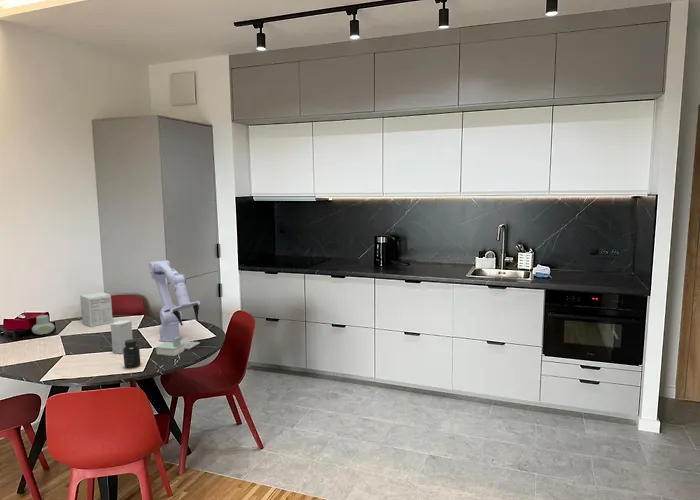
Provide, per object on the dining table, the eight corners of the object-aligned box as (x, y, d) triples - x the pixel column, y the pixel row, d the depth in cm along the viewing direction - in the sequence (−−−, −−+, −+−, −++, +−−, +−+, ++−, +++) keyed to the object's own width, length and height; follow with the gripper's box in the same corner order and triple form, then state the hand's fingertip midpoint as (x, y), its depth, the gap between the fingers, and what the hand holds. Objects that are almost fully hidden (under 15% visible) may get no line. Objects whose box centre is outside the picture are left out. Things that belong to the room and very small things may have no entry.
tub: (156, 354, 238) (156, 348, 237) (166, 349, 245) (166, 343, 245) (174, 356, 235) (174, 350, 235) (184, 350, 243) (183, 345, 242)
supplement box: (113, 322, 297) (111, 294, 295) (90, 327, 287) (88, 298, 285) (104, 319, 305) (102, 291, 303) (81, 323, 296) (79, 295, 293)
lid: (155, 350, 237) (155, 339, 237) (166, 345, 245) (165, 334, 245) (174, 351, 235) (173, 340, 234) (184, 346, 243) (183, 335, 242)
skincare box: (121, 354, 239) (119, 324, 237) (111, 353, 241) (109, 323, 239) (134, 348, 247) (132, 320, 245) (124, 347, 249) (122, 319, 247)
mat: (168, 347, 248) (168, 346, 248) (180, 341, 258) (180, 340, 258) (189, 349, 245) (189, 348, 245) (200, 342, 255) (200, 342, 255)
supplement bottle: (127, 363, 226) (125, 338, 224) (142, 363, 226) (141, 338, 225) (121, 369, 219) (120, 343, 217) (137, 368, 219) (135, 342, 218)
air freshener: (33, 337, 269) (31, 319, 268) (31, 333, 276) (29, 316, 274) (56, 333, 276) (54, 316, 275) (53, 330, 282) (52, 313, 281)
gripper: (166, 299, 240) (173, 325, 236) (196, 290, 244) (203, 316, 240) (169, 303, 247) (175, 328, 243) (198, 294, 250) (205, 319, 247)
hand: (189, 322), depth 242 cm, fingers open, 7 cm apart
